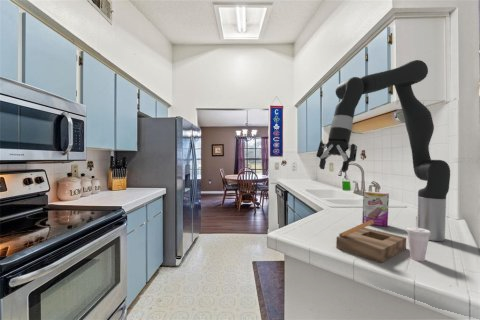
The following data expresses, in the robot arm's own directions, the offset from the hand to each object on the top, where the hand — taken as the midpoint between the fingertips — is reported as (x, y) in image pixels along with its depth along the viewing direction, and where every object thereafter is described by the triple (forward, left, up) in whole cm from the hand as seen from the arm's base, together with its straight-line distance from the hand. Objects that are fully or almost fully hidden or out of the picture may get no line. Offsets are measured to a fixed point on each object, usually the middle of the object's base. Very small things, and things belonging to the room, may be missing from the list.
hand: (332, 170), depth 88 cm
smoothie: (-13, +24, -28) cm, 39 cm away
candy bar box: (-46, -3, -28) cm, 54 cm away
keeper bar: (-1, +9, -21) cm, 23 cm away
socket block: (-10, +11, -28) cm, 32 cm away
